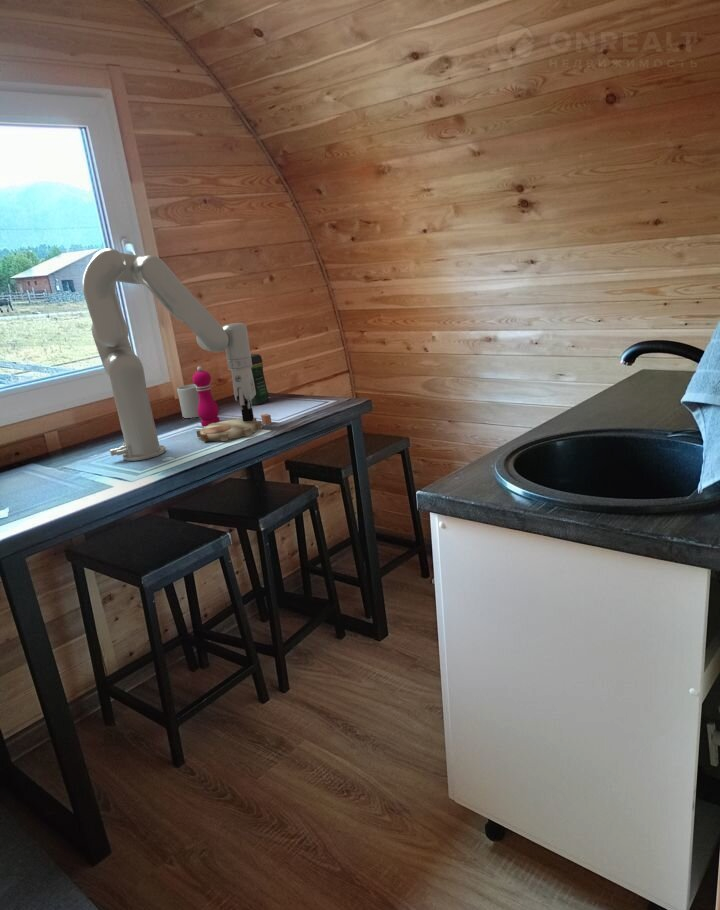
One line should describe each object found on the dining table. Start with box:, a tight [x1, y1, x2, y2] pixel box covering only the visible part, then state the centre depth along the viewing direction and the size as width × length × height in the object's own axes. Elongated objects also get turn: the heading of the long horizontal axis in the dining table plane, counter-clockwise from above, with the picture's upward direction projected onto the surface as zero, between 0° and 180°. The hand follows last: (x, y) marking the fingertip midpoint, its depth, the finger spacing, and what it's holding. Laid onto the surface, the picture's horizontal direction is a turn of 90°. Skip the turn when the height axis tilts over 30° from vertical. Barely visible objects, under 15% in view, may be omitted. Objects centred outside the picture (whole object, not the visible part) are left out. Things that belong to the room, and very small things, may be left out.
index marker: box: [260, 413, 273, 426], centre depth 233 cm, size 2×3×3 cm, turn 32°
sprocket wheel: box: [195, 417, 263, 442], centre depth 226 cm, size 20×20×6 cm
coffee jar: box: [251, 353, 270, 406], centre depth 266 cm, size 10×8×19 cm
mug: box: [176, 383, 199, 419], centre depth 259 cm, size 12×8×11 cm
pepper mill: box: [192, 366, 221, 427], centre depth 242 cm, size 7×7×20 cm
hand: (248, 420), depth 228 cm, fingers closed
